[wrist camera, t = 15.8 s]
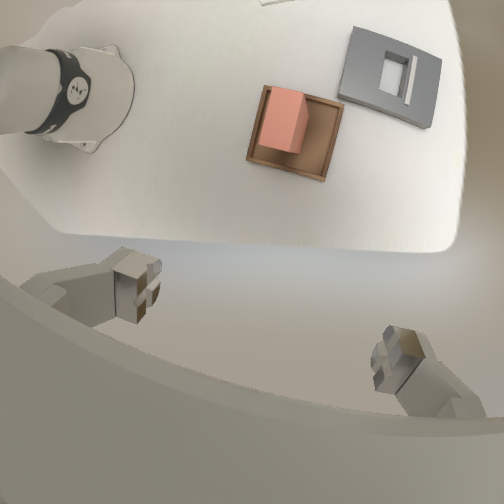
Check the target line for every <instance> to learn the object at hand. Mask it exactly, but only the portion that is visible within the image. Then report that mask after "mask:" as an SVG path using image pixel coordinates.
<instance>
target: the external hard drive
mask: <svg viewBox="0 0 504 504" xmlns="http://www.w3.org/2000/svg"><path fill="white" fill-rule="evenodd" d="M287 1H293V0H260V2H261V5H262V6H266V5H270V4H276V3H281V2H287Z"/></svg>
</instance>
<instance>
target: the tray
mask: <svg viewBox="0 0 504 504" xmlns="http://www.w3.org/2000/svg"><path fill="white" fill-rule="evenodd" d="M271 91H272V86H267V85H264V88H263V92H262V96H261V100H260V103H259V107H258V111H257V116H256V120H255V124H254V128H253V132H252V136H251V140H250V144H249V148H248V153H247V157H246V161H250V162H254V163H258V164H262V165H266V166H270V167H274V168H278V169H282V170H285V171H289V172H293V173H296V174H300V175H303V176H307V177H310V178H314V179H317V180H320V181H324V182H325V178H326V174H327V171H328V167H329V164H330V160H331V156H332V152H333V149H334V145H335V141H336V137H337V133H338V129H339V125H340V121H341V117H342V113H343V109H344V104H341V103H338V102H334V101H331V100H327V99H323V98H320V97H316V96H312V95H308V94H304V96H305V100H306V104H307V108H308V112H309V120H308V124H307V128H306V132H305V136H304V140H303V143H302V147H301V151H300V154H299V153H292V152H287V151H283V150H279V149H275V148H271V147H267V146H263V145H259V144H258V143H259V139H260V135H261V131H262V127H263V123H264V119H265V115H266V111H267V107H268V103H269V99H270V95H271Z"/></svg>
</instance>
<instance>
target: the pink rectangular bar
mask: <svg viewBox="0 0 504 504" xmlns="http://www.w3.org/2000/svg"><path fill="white" fill-rule="evenodd" d="M308 120H309V112H308V108H307V104H306V100H305V96H304V93H302V92H298V91H293V90H289V89H284V88H280V87H275V86H273V87H272V91H271V95H270V99H269V103H268V107H267V111H266V115H265V119H264V123H263V127H262V131H261V135H260V139H259V143H258V144H259V145H263V146H267V147H271V148H275V149H279V150H283V151H287V152H292V153H299V154H300V151H301V147H302V143H303V140H304V136H305V132H306V128H307V124H308Z"/></svg>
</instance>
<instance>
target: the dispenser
mask: <svg viewBox="0 0 504 504" xmlns="http://www.w3.org/2000/svg"><path fill="white" fill-rule="evenodd" d="M384 58H388V59H391V60H394V61H396V62H399V63H401V64H404V67H403V72H402V78H401V83H400V88H399V93H398V97H397V96H394V95H392V94H389V93H386V92H384V91H381V90H378V88H379V83H380V78H381V73H382V68H383V63H384ZM441 65H442V59H440V58H437V57H435V56H433V55H431V54H429V53H427V52H424V51H422V50H420V49H417V48H415V47H413V46H410V45H408V44H405V43H403V42H400V41H398V40H395V39H392V38H389V37H387V36H384V35H381V34H378V33H375V32H372V31H369V30H365V29H362V28H359V27H355V26H353V31H352V35H351V40H350V44H349V49H348V54H347V58H346V63H345V67H344V72H343V76H342V80H341V85H340V89H339V93H338V97H337V98H340V99H344V100H347V101H350V102H354V103H357V104H360V105H363V106H366V107H369V108H372V109H375V110H377V111H380V112H383V113H386V114H388V115H391V116H394V117H396V118H399V119H401V120H404V121H406V122H409V123H411V124H414V125H416V126H418V127H421V128H423V129H426V128H430V127H431V124H432V119H433V115H434V109H435V104H436V98H437V93H438V86H439V80H440V73H441Z"/></svg>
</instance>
